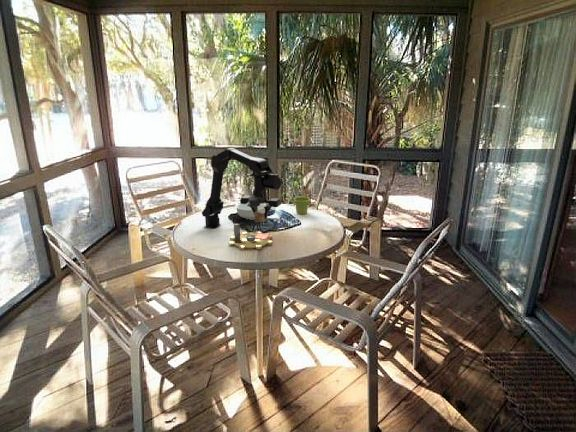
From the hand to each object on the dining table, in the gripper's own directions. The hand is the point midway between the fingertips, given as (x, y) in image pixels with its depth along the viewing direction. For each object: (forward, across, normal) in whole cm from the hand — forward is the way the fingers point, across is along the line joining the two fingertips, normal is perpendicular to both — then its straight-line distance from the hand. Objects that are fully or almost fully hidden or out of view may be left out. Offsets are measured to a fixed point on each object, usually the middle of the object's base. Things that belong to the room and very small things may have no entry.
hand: (261, 218), depth 186 cm
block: (+1, 0, 0) cm, 1 cm away
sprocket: (+11, -3, -5) cm, 12 cm away
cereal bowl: (+11, -18, +29) cm, 36 cm away
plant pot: (+11, +6, +46) cm, 48 cm away
